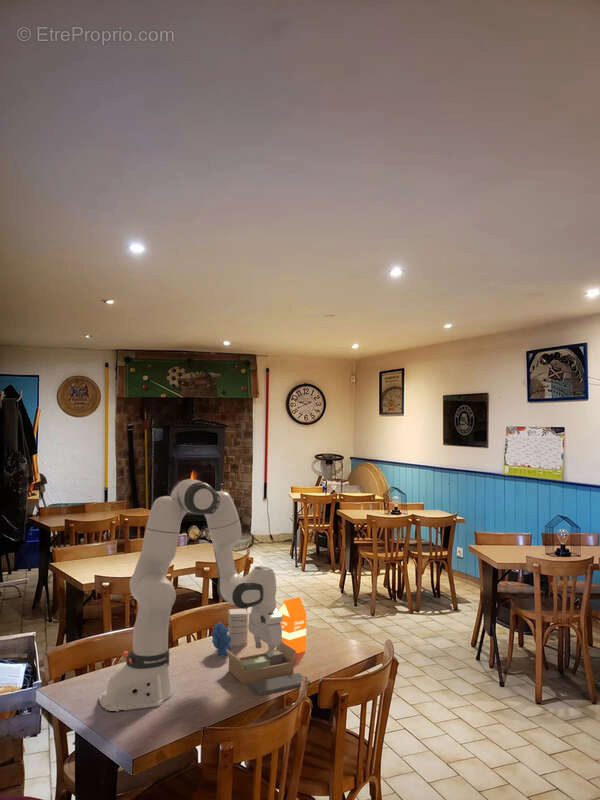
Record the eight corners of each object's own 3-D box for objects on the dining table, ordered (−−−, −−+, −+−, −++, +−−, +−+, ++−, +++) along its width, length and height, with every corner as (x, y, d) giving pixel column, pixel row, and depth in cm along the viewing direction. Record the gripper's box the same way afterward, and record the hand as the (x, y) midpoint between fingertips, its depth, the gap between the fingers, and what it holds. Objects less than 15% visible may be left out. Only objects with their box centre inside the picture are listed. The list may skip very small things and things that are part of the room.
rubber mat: (259, 695, 196) (259, 692, 196) (248, 686, 203) (249, 683, 203) (309, 684, 205) (309, 681, 205) (298, 675, 212) (298, 672, 212)
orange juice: (276, 650, 237) (276, 598, 238) (293, 645, 243) (293, 594, 244) (289, 656, 231) (290, 602, 232) (306, 650, 237) (306, 598, 238)
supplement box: (227, 640, 248) (228, 608, 249) (245, 639, 250) (246, 608, 250) (229, 646, 241) (229, 614, 242) (247, 645, 242) (248, 613, 243)
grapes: (203, 653, 233) (204, 621, 234) (218, 649, 237) (218, 618, 238) (220, 662, 224) (220, 629, 225) (235, 658, 228) (235, 625, 229)
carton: (240, 685, 204) (240, 661, 204) (225, 671, 215) (225, 649, 216) (296, 673, 215) (296, 650, 215) (279, 660, 226) (279, 639, 227)
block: (244, 678, 209) (244, 661, 210) (238, 674, 213) (239, 656, 214) (282, 670, 217) (282, 653, 217) (276, 666, 221) (276, 649, 221)
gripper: (244, 606, 224) (244, 644, 224) (268, 621, 206) (268, 662, 206) (259, 604, 227) (259, 641, 227) (285, 618, 210) (285, 659, 209)
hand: (264, 651), depth 216 cm, fingers open, 8 cm apart
